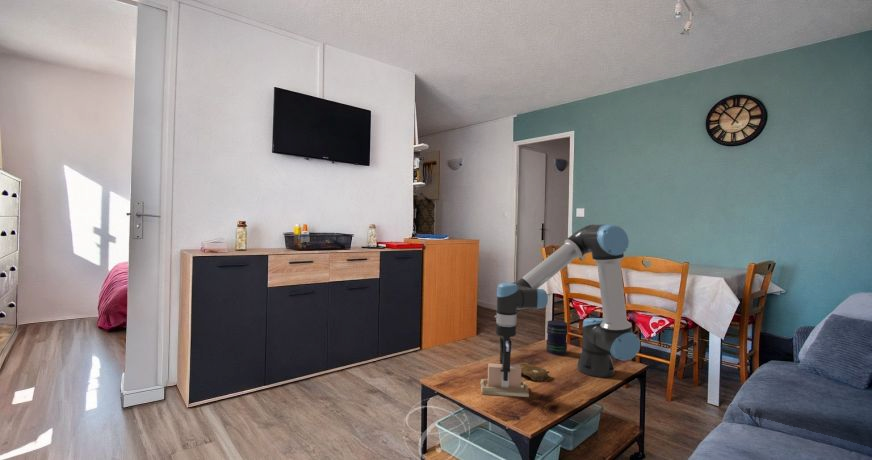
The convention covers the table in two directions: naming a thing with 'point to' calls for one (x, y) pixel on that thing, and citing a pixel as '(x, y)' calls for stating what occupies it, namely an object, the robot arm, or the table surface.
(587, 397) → the table surface
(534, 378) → the decorative rock
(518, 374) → the clay block
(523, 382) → the cream rectangular tray
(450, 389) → the table surface
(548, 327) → the storage jar
